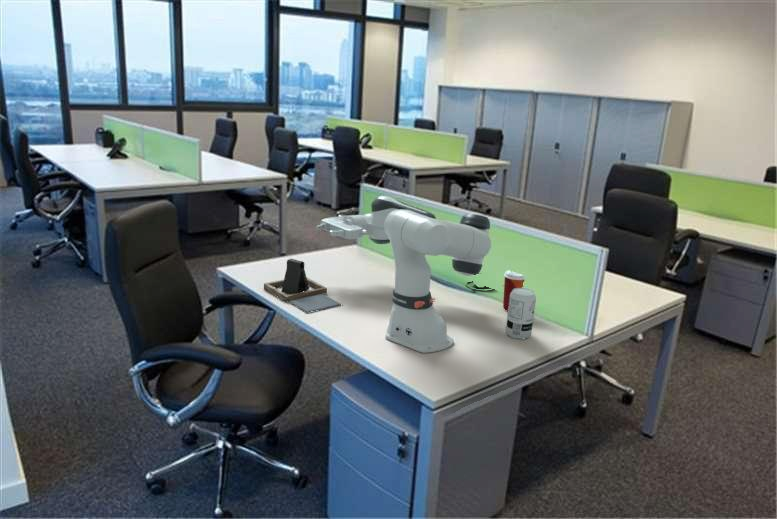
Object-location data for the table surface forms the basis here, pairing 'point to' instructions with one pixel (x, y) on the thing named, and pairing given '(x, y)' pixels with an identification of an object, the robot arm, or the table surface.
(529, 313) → the supplement can
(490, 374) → the table surface
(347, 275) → the table surface
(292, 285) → the phone stand
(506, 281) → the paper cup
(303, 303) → the charcoal mat
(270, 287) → the walnut frame
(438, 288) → the table surface
